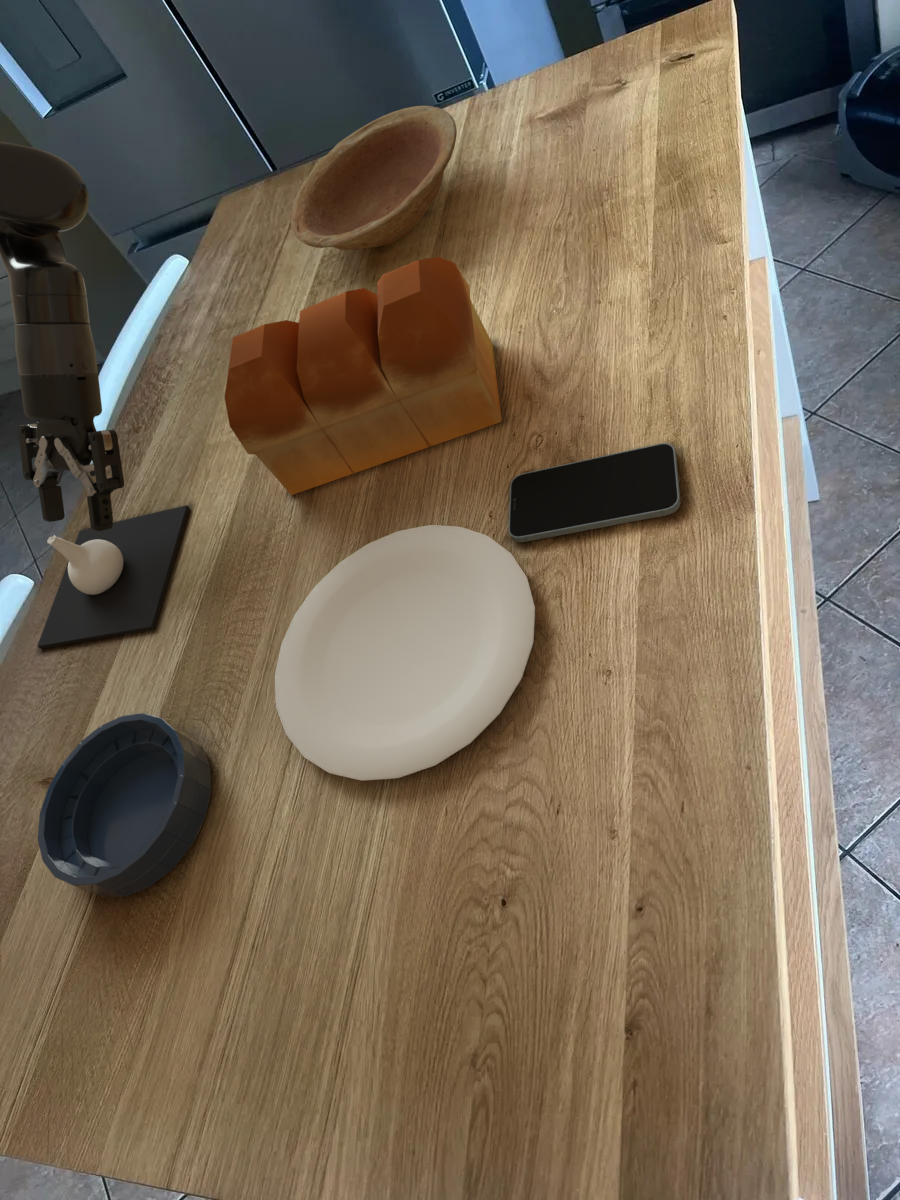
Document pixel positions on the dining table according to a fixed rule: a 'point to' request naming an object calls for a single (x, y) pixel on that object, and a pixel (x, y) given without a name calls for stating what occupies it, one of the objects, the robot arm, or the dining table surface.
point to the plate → (405, 653)
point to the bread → (364, 377)
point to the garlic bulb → (90, 563)
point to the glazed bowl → (124, 806)
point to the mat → (120, 582)
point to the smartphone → (594, 493)
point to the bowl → (376, 181)
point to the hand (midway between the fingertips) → (77, 525)
